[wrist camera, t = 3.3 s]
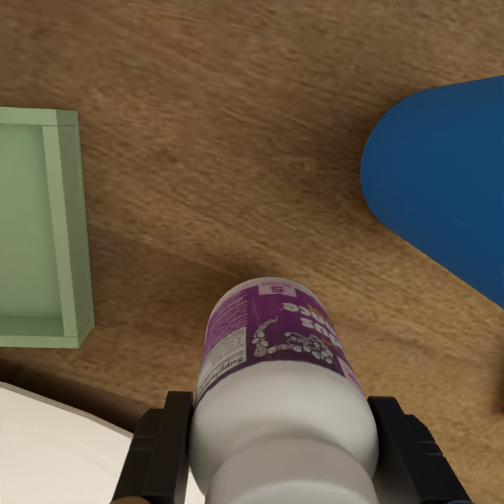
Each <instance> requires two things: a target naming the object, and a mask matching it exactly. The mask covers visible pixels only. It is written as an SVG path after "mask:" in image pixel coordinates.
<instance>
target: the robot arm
mask: <svg viewBox="0 0 504 504" xmlns="http://www.w3.org/2000/svg"><path fill="white" fill-rule="evenodd" d="M367 402H368V404H369V407H370V409H371V412H372V415H373V417H374V420H375V423H376V427H377V432H378V440H379V454H378V461H377V466H376V470H375V473H374V476H373V478H372V483H373V486H374V489H375V492H376V495H377V498H378V501H379V503H380V504H475V503H472V501H471V500H470V498H469V496H468V495H467V493H466V491H465V490H464V488H463V486H462V485H461V483H460V481H459V480H458V478H457V476H456V475H455V473H454V471H453V470H452V468H451V466H450V465H449V463H448V461H447V460H446V458H445V457H443V453H442V452H441V450H440V448H439V447H438V445H437V444H436V443H435V440H434V438H433V437H432V435H431V433H430V432H429V430H428V428H427V427H426V426H425V425H424V424H423V423H422V422H420V421H419V420H418V419H417V418H416V417H415V416H414V415H409V414H404V413H403V411H402V409H401V407H400V405H399V403H398V402H397V400H396V399H395V398H394V397H384V396H369V397H368V399H367ZM192 413H193V392H186V391H169V392H168V395H167V398H166V402H165V406H164V409H149V410H148V411H147V412H146V413H145V414H144V415H143V416H142V417H141V418H140V419H139V421H138V423H137V426H136V429H135V432H134V435H133V438H132V441H131V444H130V447H129V451H128V453H127V456H126V459H125V462H124V465H123V468H122V471H121V474H120V477H119V480H118V483H117V486H116V489H115V492H114V495H113V498H112V500H111V502H110V503H109V504H184V503H185V496H186V489H187V482H188V475H189V468H190V464H189V456H188V441H189V428H190V424H191V418H192Z"/></svg>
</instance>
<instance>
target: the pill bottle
mask: <svg viewBox="0 0 504 504" xmlns="http://www.w3.org/2000/svg"><path fill="white" fill-rule="evenodd" d="M378 454H379V440H378V432H377V427H376V423H375V420H374V417H373V415H372V412H371V409H370V407H369V404H368V402H367V400H366V398H365V395H364V393H363V391H362V389H361V386H360V384H359V382H358V380H357V378H356V376H355V374H354V371H353V369H352V367H351V364H350V362H349V360H348V357H347V355H346V353H345V351H344V349H343V347H342V344H341V342H340V340H339V338H338V336H337V334H336V332H335V329H334V327H333V324H332V323H331V320H330V318H329V316H328V314H327V312H326V310H325V308H324V307H323V305H322V303H321V302H320V301H319V299H318V298H317V297H316V295H314V294H313V293H312V292H311V291H310V290H309V289H308V288H306V287H305V286H303V285H301V284H299V283H297V282H295V281H292V280H290V279H286V278H279V277H260V278H255V279H251V280H248V281H245V282H243V283H241V284H239V285H237V286H235V287H234V288H232V289H231V290H229V291H228V292H227V293H226V294H225V295H224V296H223V297H222V298H221V299H220V300H219V301H218V303H217V304H216V306H215V307H214V309H213V311H212V313H211V315H210V318H209V321H208V325H207V330H206V336H205V342H204V348H203V354H202V360H201V366H200V372H199V377H198V383H197V390H196V396H195V402H194V407H193V413H192V418H191V424H190V428H189V441H188V456H189V464H190V468H191V471H192V474H193V477H194V480H195V482H196V484H197V486H198V488H199V490H200V491H201V493H202V494H203V496H204V497H205V504H379V502H378V499H377V496H376V493H375V489H374V486H373V483H372V478H373V476H374V473H375V470H376V466H377V461H378Z"/></svg>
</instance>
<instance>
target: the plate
mask: <svg viewBox="0 0 504 504" xmlns="http://www.w3.org/2000/svg"><path fill="white" fill-rule="evenodd" d="M133 435H134V434H133V433H130V432H128V431H126V430H124V429H122V428H120V427H118V426H116V425H114V424H111V423H109V422H107V421H105V420H103V419H101V418H99V417H97V416H95V415H92V414H90V413H88V412H85V411H82V410H80V409H77V408H74V407H71V406H69V405H66V404H63V403H60V402H58V401H55V400H52V399H49V398H46V397H44V396H41V395H38V394H35V393H33V392H30V391H27V390H24V389H22V388H19V387H16V386H13V385H11V384H8V383H4V382H0V504H109V503H110V502H111V500H112V498H113V495H114V492H115V489H116V486H117V483H118V480H119V477H120V474H121V471H122V468H123V465H124V462H125V459H126V456H127V453H128V451H129V447H130V444H131V441H132V438H133ZM184 504H205V497H204V496H203V494H202V493H201V491H200V490H199V488H198V486H197V484H196V482H195V480H194V477H193V474H192V471H191V468H189V475H188V482H187V489H186V496H185V503H184Z"/></svg>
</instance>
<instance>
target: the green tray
mask: <svg viewBox="0 0 504 504" xmlns="http://www.w3.org/2000/svg"><path fill="white" fill-rule="evenodd" d="M94 326H95V320H94V308H93V295H92V283H91V270H90V258H89V246H88V233H87V221H86V209H85V196H84V184H83V172H82V159H81V147H80V134H79V122H78V112H77V111H70V110H57V109H37V108H17V107H0V347H38V348H79V347H80V346H81V344H82V343H83V341H84V340H85V339H86V337H87V336H88V334H89V333H90V332H91V330H92V329H93V328H94Z"/></svg>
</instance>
